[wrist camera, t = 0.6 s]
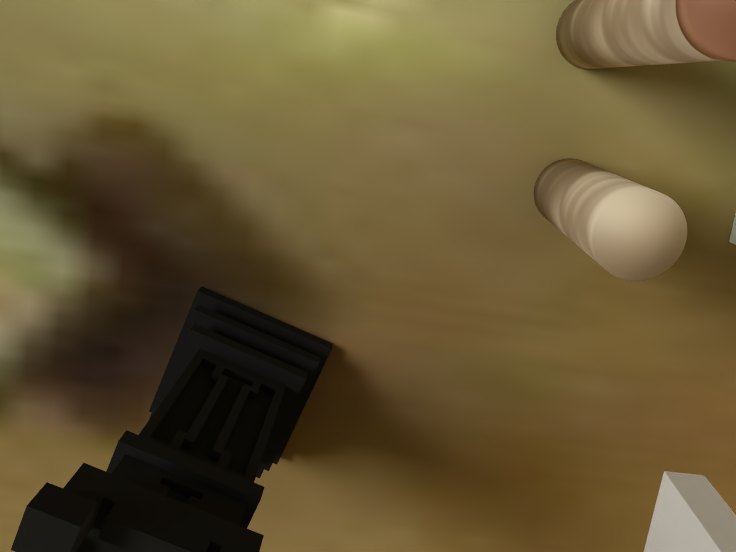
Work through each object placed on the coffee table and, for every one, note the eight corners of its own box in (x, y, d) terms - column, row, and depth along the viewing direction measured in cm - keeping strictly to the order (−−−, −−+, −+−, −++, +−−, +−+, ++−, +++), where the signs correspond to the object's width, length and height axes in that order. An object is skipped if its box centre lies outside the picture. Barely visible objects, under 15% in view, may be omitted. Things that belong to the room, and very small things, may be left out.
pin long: (560, -10, 34) (704, -85, 19) (634, -4, 34) (838, -74, 19) (550, 67, 35) (678, 55, 20) (621, 72, 35) (805, 65, 20)
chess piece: (332, 343, 39) (280, 593, 20) (278, 457, 41) (184, 782, 22) (201, 286, 39) (17, 489, 19) (153, 405, 41) (-57, 694, 21)
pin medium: (538, 156, 36) (601, 186, 26) (605, 161, 36) (696, 193, 26) (529, 221, 37) (586, 277, 27) (594, 226, 37) (677, 284, 27)
